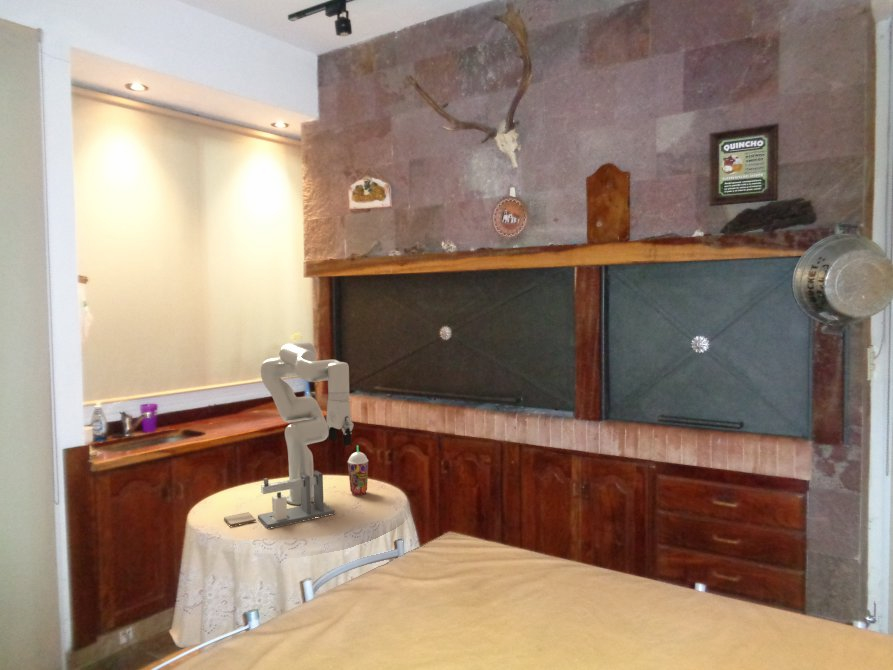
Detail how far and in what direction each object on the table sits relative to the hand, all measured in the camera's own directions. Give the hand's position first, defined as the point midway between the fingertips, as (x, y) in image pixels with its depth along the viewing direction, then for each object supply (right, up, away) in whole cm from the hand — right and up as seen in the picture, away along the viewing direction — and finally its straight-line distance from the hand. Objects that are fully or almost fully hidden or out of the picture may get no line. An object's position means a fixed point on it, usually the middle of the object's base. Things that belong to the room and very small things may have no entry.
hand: (339, 442), depth 236 cm
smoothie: (+3, -26, +29) cm, 39 cm away
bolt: (-18, -17, +1) cm, 24 cm away
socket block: (-17, -28, +3) cm, 33 cm away
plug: (-22, -28, -1) cm, 36 cm away
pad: (-37, -29, 0) cm, 46 cm away
